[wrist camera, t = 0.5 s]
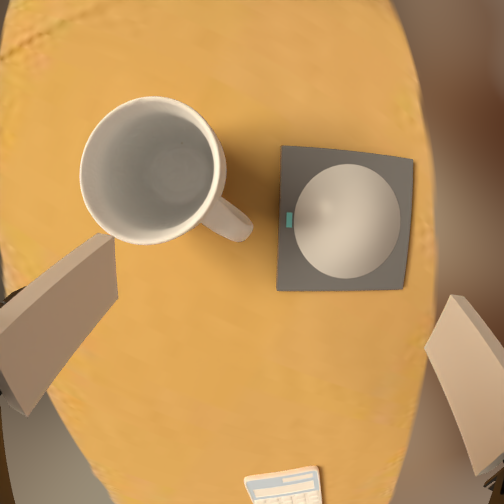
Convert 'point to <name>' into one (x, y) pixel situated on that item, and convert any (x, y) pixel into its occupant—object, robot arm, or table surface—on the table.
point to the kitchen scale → (342, 220)
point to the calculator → (285, 487)
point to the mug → (157, 174)
